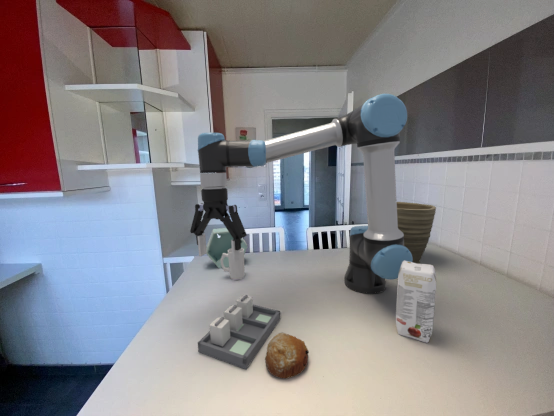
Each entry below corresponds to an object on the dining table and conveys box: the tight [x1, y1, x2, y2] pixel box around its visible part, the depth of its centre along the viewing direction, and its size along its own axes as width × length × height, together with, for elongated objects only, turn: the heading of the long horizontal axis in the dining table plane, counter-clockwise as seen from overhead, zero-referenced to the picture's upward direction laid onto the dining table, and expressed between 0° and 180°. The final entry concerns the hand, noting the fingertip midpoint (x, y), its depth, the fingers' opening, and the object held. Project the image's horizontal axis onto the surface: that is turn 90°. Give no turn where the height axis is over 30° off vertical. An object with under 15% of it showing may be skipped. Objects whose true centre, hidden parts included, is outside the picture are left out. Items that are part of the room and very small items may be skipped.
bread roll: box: [264, 332, 310, 379], centre depth 55 cm, size 10×10×8 cm
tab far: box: [235, 294, 254, 318], centre depth 71 cm, size 4×3×6 cm
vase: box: [397, 201, 437, 264], centre depth 113 cm, size 25×24×30 cm
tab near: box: [209, 316, 230, 347], centre depth 60 cm, size 4×3×6 cm
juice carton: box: [395, 260, 437, 344], centre depth 63 cm, size 8×9×19 cm
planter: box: [206, 227, 248, 269], centre depth 114 cm, size 17×8×21 cm
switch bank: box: [197, 304, 281, 370], centre depth 65 cm, size 14×20×3 cm
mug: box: [221, 248, 246, 281], centre depth 100 cm, size 10×7×12 cm, turn 96°
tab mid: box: [223, 304, 243, 331], centre depth 66 cm, size 4×3×6 cm
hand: (218, 257), depth 73 cm, fingers open, 12 cm apart
